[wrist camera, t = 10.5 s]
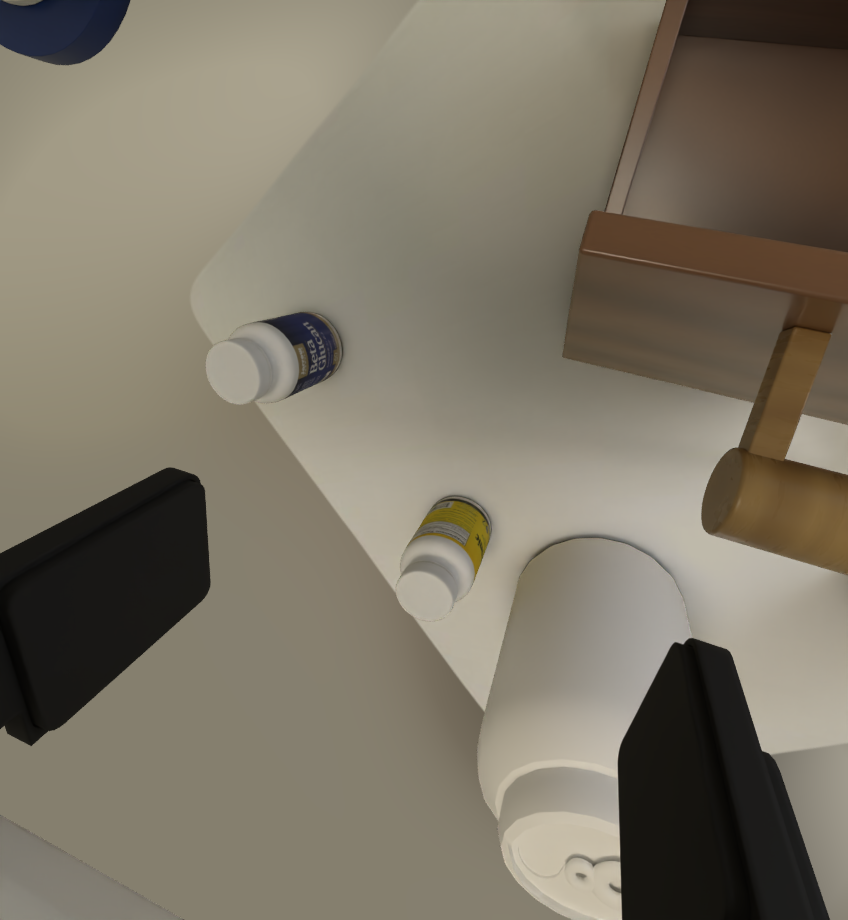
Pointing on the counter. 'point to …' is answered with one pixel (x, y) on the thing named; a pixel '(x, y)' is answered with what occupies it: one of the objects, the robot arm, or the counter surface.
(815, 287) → the lid
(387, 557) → the counter surface
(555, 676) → the white canister
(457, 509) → the supplement bottle
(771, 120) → the chest
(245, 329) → the pill bottle
